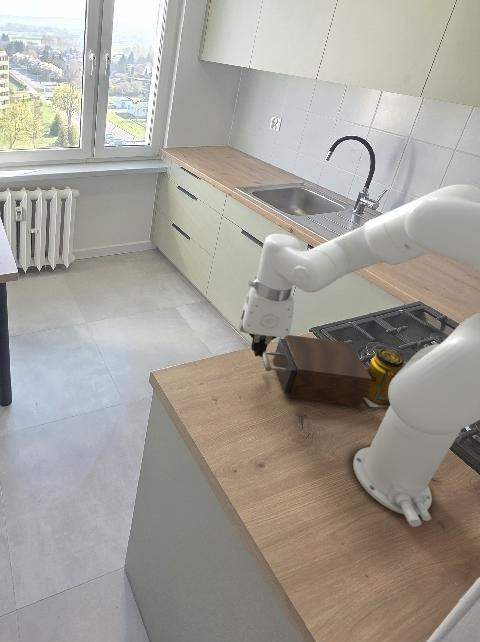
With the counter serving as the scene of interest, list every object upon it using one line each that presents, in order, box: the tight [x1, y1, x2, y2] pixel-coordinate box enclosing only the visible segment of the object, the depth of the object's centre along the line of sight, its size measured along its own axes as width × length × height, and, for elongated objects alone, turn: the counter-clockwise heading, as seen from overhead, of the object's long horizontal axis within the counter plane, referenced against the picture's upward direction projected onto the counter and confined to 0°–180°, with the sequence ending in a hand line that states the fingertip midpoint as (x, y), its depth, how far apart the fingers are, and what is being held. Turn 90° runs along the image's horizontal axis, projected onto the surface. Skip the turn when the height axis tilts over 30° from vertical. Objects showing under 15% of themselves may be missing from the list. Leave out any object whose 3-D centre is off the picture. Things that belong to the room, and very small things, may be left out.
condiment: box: [363, 348, 405, 408], centre depth 97 cm, size 7×8×12 cm
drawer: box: [261, 338, 297, 394], centre depth 100 cm, size 19×10×7 cm, turn 83°
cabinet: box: [282, 334, 372, 409], centre depth 100 cm, size 16×12×9 cm
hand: (257, 352), depth 100 cm, fingers closed
